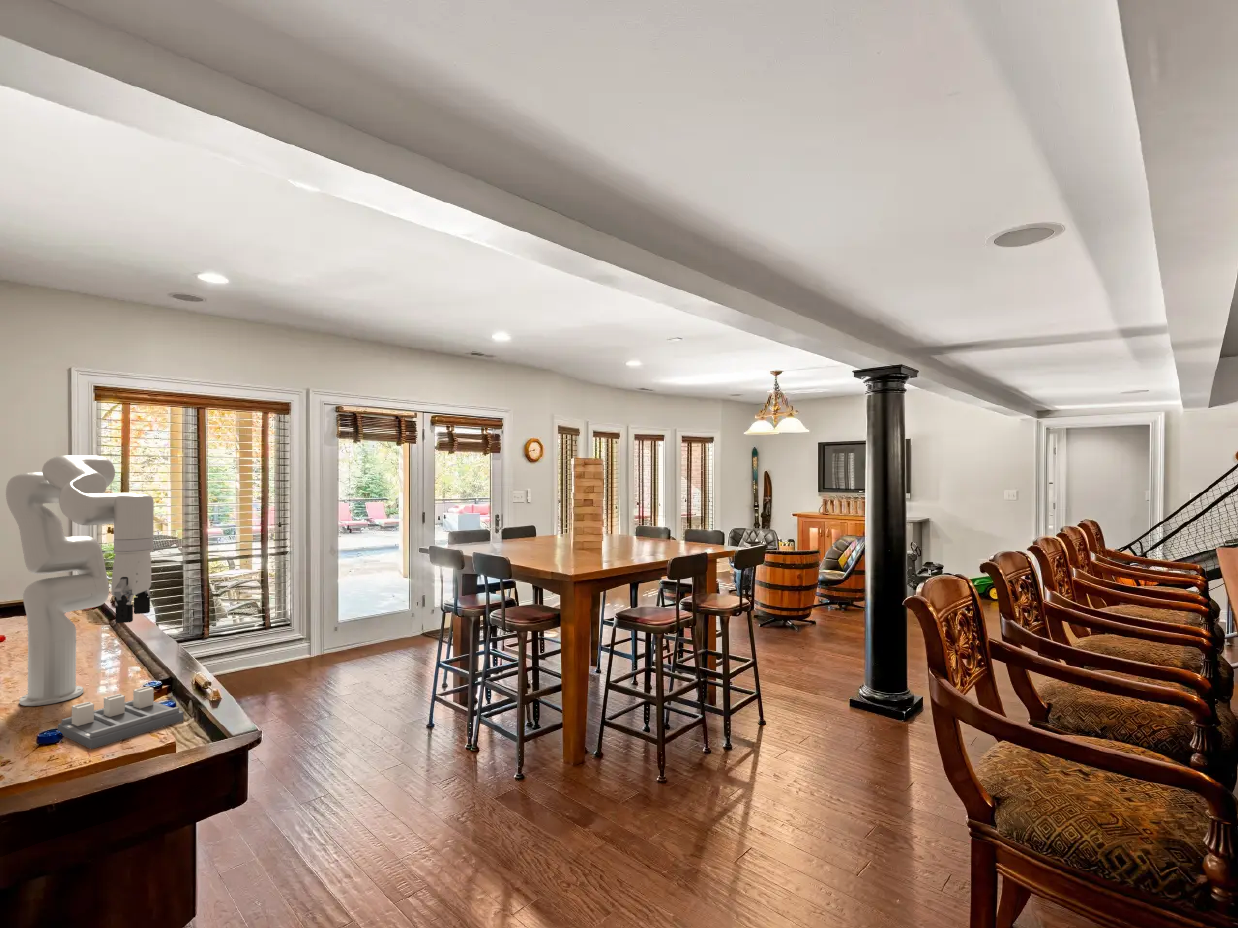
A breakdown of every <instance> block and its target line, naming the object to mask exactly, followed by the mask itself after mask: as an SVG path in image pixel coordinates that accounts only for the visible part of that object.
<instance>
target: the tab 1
mask: <svg viewBox="0 0 1238 928" xmlns="http://www.w3.org/2000/svg"><path fill="white" fill-rule="evenodd" d="M94 711H95V704H94V703H92V702H91V701H85V702H82V703H77V704H74V705H71V717H72V724H74V725H76V726H80V725H84V724H87V723H91V722H94Z"/></svg>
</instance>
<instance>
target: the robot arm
mask: <svg viewBox="0 0 1238 928" xmlns="http://www.w3.org/2000/svg"><path fill="white" fill-rule="evenodd" d="M115 476H116V470H115V467H114V464H113V463H112V461H111V460H109V459H108V458H107V457H104V456H101V455H100V456H99V455H75V454H73V455H72V454H70V455H69V454H68V455H67V454H65V455H64V454H63V455H58V456H54V457H52V458H50V459H48V460H47V461H46V462H45V463H44V464H43V466H42V470H41V471H32V472H25V473H19V474H15V475H14V476H12V477H11V478H9V480H8V482H7V484H6V487H5V500H6V503H7V506H8V509H9V511H10V513H11V515H12V516H13V518H14V520H15V522H16V524H17V526H18V530H19V535H20V543H21V547H22V553H23V558H24V563H25V567H26V569H27V570H28V572H30V573H31V574H33V575H50V574H60V573H67V572H70V573H71V572H77V574H73V575H64V576H56V577H49V578H42V579H39V580H36V581H33V582H31V583H30V584H28V585H27V586H26V587H25V588H24V590H23V593H22V594H23V595H22V602H23V606H24V610H25V614H26V621H27V694H24V695H22V696H21V697H20V698H19V700H18V701H19V702H18V703H19V704H20V705H21V706H24V707H25V706H26V707H36V706H45V705H46V706H47V705H51V704H57V703H61V702H65V701H69V700H71V699H74V698H77V697H79V696H81V695H82V694H83V693H84V687H83V686H81V685H77V628H76V625H75V623H74V622H73V621H72V620H71V619H70V618H69V617H68V616H66V615H65V613H69V612H74V611H81V610H86V609H92V608H96V607H99V606H102V605H104V604H105V603H106V601H108V598H109V596H110V595H109V594H110V591H109V590H110V586H109V581H108V574H107V570H106V564H105V559H104V554H103V553H104V552H103V550H102V546H101V544H100V543H99V541H98V540H97V539H96V538H95V537H92V536H88V535H76V536H66V535H65V533H64V531H63V523H62V520H61V519H60V517H59V516H58V515H56V513H55V512H54V511H53V510H51V509H49V508H48V507H47V506H45V505H44V504H59V508H60V511H61V512H62V514H63V515H64V516H65V517H66V518H68V519H69V521H71V522H73V523H75V524H77V525H81V526H102V525H113V554H114V559H113V565H112V575H111V576H112V577H111V595H112V597H113V599H114V600H115V602H114V606H115V619H114V620H115V623H116V624H123V623H125V624H127V623H132V622H133V621H134V615H140V614H144V615H145V614H150V612H151V594H152V593H151V591H150V589H151V586H152V559H151V558H152V557H151V552H154V522H155V521H154V515H155V514H154V513H155V512H154V510H155V509H154V508H155V507H154V504H155V502H154V498H153V497H152V496H151V495H149V494H147V493H146V494H143V493H140V494H138V493H134V492H111V493H110V492H108V493H107V492H106V491H107V488H108V487H109V486H111V484H112V483H113V482H114V479H115ZM134 596H135V597H134ZM132 602H133V604H132Z"/></svg>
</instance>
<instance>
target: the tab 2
mask: <svg viewBox="0 0 1238 928" xmlns="http://www.w3.org/2000/svg"><path fill="white" fill-rule="evenodd" d="M125 702H126V696H125V695H123V694H122V693H117V694H113V695H109V696H104V697H103V708H104V715H105V716H108V717H112V716H115V715H119V714H123V713H125Z"/></svg>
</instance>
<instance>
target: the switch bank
mask: <svg viewBox="0 0 1238 928" xmlns="http://www.w3.org/2000/svg"><path fill="white" fill-rule="evenodd" d="M184 715H185V714H184V711H182V710H180V707H178V706H175V707H171V706H168V705H165V704H163V703H160V702H157V701H154V700H153V705H151V706H147V707H144V708H140V709H139V708H136V707H133V699H132V700H129V701H125V713H123V714H119V715H115V716H112V717H108V716H105V715H104V707H103V708H98V709H94V722H91V723H87V724H84V725H80V726H76V725H74V724H72V716H70V717H65V718H62V719H61V722H60V723H58V724H57V732H58V731H60V732H61V733H62V734H63V735H62V736H63V737H65V738H68V740H71V741H73V742H75V743H77V744H79V745H81V746H83V747H86V748H88V749H90V750H93V749H96V748H99V747H103V746H105V745H108V744H112V743H115V742H119V741H122V740H125V739H128V738H131V737H134V736H138V735H141V734H144V733H147V732H150V731H154V730H157V729H161V728H164V727H166V726H171V725H172V724H176V723H179V722H182V721H184Z"/></svg>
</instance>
